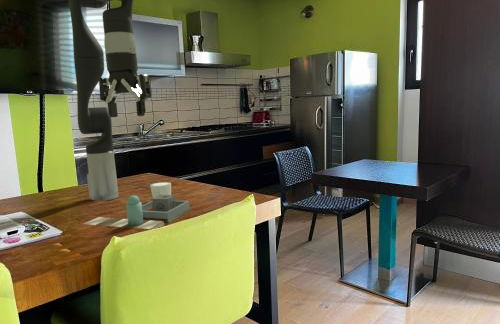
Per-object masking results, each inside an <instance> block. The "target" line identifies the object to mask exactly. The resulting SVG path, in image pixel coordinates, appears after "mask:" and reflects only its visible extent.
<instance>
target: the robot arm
mask: <svg viewBox="0 0 500 324" xmlns="http://www.w3.org/2000/svg"><path fill="white" fill-rule="evenodd" d="M111 1H113V0H68V7H69V12H70V19H71V21H70V22H71V27H72V28H71V29H72V31H71V32H72V46H73V49H72V50H73V62H74V63H73V64H74V72H75V73H74V74H75V81H76V83H75V84H76V96H77V97H76V98H77V99H76V100H77V101H76V102H77V103H76V104H77V108H76V109H77V124H78V130H79V132H80V133H81V134H82V135H94V134H101V136H100V137H99V138H98V139H97V140H95V141H93V142H90V143H88V144H87V145H85V153H86V160H87V161H86V162H87V169H88V173H87V174H86V180H87V189H88V195H89V197H88V198H89V200H91V201H98V202H99V201H100V202H101V201H102V202H104V201H105V202H106V201H110V200H111V201H112V200H115V199H117V198H119V188H118V179H117V169H116V162H115V161H116V160H115V152H114V141H113V128H112V126H113V125H112V124H113V123H112V118H118V116H119V115H118V114H119V113H118V108H117V107H118V106H117V104H118V103H117V99H118V98H119V97H120V96H121V95H122V94H130V95H132V96H133V98H134V99H135V100H136V101H135V105H136V106H135V107H136V115H137V117H143V116H145V114H146V100H148V99H150V98H152V89H151V83H150V77H149V75H148V74H146V73H145V74H144V73H140V74H138V70H139V69H138V68H139V67H138V66H139V65H138V57H137V47H136V41H135V37H134V36H135V35H134V27H133V18H132V17H133V8H134V2H135V0H118V1H120V2H121V3H120V4H121V5H120V6H119V7H112V8H107V9H105V10H103V12H102V26H103V34H104V43H103V44H104V50H103V48H102V46H101V44H100V42H99V41H98V39H97V37H96V36H95V35H94V34H93V33H92V31H91V30H90V28H89V26H88V24H87V22H86V20H85V18H84V15H83V12H82V8H88V9H100V8H104V7H105V6H106V5H107V4H108V3H109V2H111ZM104 53H105V54H104ZM104 55H105V56H104ZM104 57H105V59H104ZM105 65H106V71H107V72H108V75H109V76H108V77H103V75H104V72H105ZM138 84H139V85H140V87H139V85H138ZM97 85H98V86H99V87H98V88H99V99H100V101H103V102H105V103H106V104H107V107H106V106H105V107H103V106H102V107H101V106H100V107H99V106H96V107H89V103H90V99H91V96H92V94H93V92H94V90H95V89H96V86H97Z"/></svg>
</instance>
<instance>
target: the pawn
mask: <svg viewBox="0 0 500 324" xmlns="http://www.w3.org/2000/svg"><path fill="white" fill-rule="evenodd" d="M142 205H143V204H142V201H140V197H138V196H137V195H135V194H134V195H133V194H132V195H129V197H128V198H127V199H126V204H125V208H126V217H127V218H126V219H128V225H129V226H136V225H140V224H143V220H144V218H143V213H142Z"/></svg>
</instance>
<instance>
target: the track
mask: <svg viewBox="0 0 500 324" xmlns="http://www.w3.org/2000/svg"><path fill="white" fill-rule="evenodd" d="M83 225H89V226H104V227H117V228H118V227H119V228H130V229H143V230H151V229H155V228H158V227H160V228H162V227H164V226H165V223H164V221H163V220H151V219H149V220H148V219H143V224H140V225H136V226H129V225H128V219H127V218H117V217H103V216H98V217H95V218H94V219H91V220H88V221H86V222H84V223H83Z"/></svg>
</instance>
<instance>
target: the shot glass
mask: <svg viewBox="0 0 500 324" xmlns="http://www.w3.org/2000/svg"><path fill="white" fill-rule="evenodd" d="M149 187H150V190H151V196H152V199H153V198H155V197H157V196H159V195H172V183H171V182H169V181H166V182H165V181H161V182H155V183H151V184H150V185H149Z"/></svg>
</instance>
